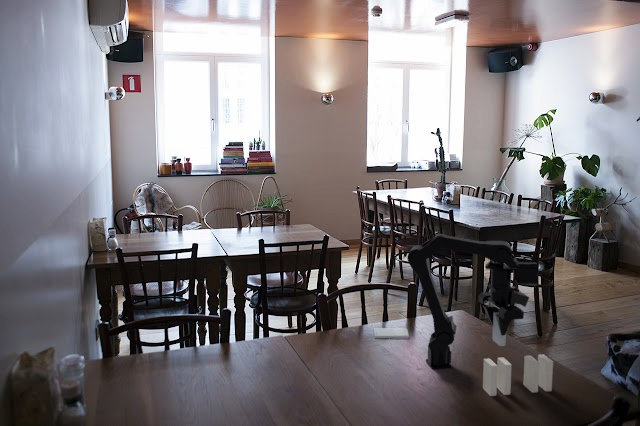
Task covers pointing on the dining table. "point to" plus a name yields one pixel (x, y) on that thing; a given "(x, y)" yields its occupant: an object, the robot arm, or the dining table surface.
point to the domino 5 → (545, 372)
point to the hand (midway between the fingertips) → (499, 332)
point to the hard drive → (391, 333)
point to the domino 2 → (497, 332)
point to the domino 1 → (490, 377)
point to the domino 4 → (531, 373)
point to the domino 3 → (504, 375)
